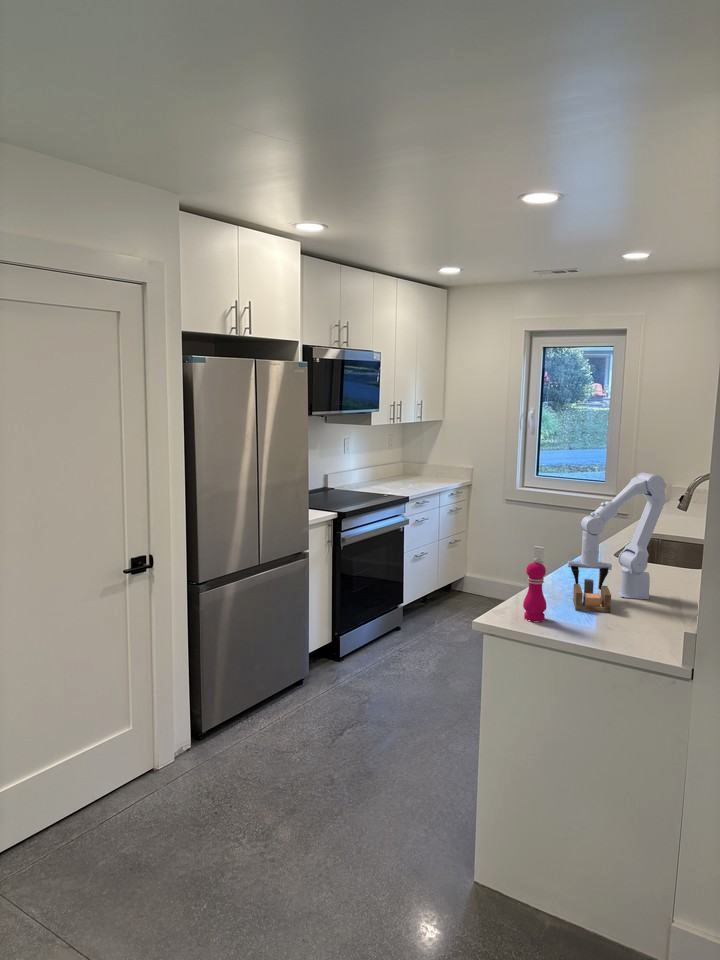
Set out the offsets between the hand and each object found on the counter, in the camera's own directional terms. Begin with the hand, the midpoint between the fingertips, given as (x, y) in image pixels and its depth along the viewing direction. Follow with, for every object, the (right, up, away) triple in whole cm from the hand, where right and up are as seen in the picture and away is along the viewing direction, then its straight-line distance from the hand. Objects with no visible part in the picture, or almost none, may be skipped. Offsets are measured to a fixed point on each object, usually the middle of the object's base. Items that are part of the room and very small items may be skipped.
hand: (588, 588), depth 240 cm
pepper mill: (-25, -6, -23) cm, 34 cm away
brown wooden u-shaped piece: (-2, -5, -10) cm, 11 cm away
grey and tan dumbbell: (-1, -4, -6) cm, 7 cm away
